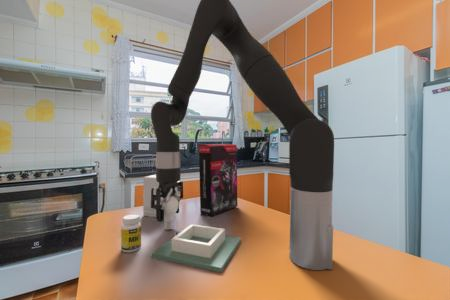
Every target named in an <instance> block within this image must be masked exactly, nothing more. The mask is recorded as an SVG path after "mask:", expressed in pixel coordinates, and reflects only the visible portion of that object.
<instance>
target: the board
mask: <svg viewBox="0 0 450 300" xmlns="http://www.w3.org/2000/svg"><path fill="white" fill-rule="evenodd" d="M175 233H176V234H175V236H173V237H172V238H171V239H169V240H168V241H167V242H165V243H164V244H163V245H161V246H159V248H157V249H156V250H154V251H153V252H151V258H153V259H157V260H162V261H167V262H171V263H176V264H180V265H184V266H189V267H195V268H199V269H204V270H209V271H212V272H217V273H222V272H223V270H224V269H225V267H226V266H227V264H228V263H229V261H230V259H231V258H232V256H233V255H234V253H235V251H236V250H237V248H238V247H239V245H240V244H241V242H242V237H239V236H233V235H227V234H226V228H222V227H215V226H208V225H200V224H194V223H191V224H190V225H188V226H187V227H186V228H180V229H178V230H177V231H176V232H175Z"/></svg>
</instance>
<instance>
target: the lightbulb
mask: <svg viewBox="0 0 450 300" xmlns="http://www.w3.org/2000/svg"><path fill="white" fill-rule="evenodd" d="M162 199H163V198H162ZM161 204H162V202H160V205H161ZM178 207H179V208H180V202H179V203H178V200H177V199H176V198H175V197H174V196H171V197H170V198H169V199H168V202H167V203H166V204H165V206H164V221H163V223H164V224H163V225H164V226H163V228H164V230H168V231H170V230H172V229H173V227H174V219H175V214H177V213H176V211H177V210H178Z"/></svg>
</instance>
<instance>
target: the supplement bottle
mask: <svg viewBox="0 0 450 300" xmlns="http://www.w3.org/2000/svg"><path fill="white" fill-rule="evenodd" d="M140 220H141V219H140V215H139V214H127V215H125V216H123V217H122V224H121V228H120V229H121V230H120V232H121V235H120V236H121V241H120V243H121V244H120V248H121V251H122V252H124V253H134V252H136V251H138V250H139V249H140V248H141V247H142V224H141V222H140Z"/></svg>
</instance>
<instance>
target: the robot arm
mask: <svg viewBox="0 0 450 300" xmlns="http://www.w3.org/2000/svg"><path fill="white" fill-rule="evenodd" d="M211 36H214V37H215V38H216V39H217V40H218V41H219V42H220V43H221V44H222V45H223V46H224V47H225V49H227V50H228V52H229V53H230V54H231V56H232V58H233V60H234V62H235V66H236V68H237V71H238V72H239V74H240V76H241V77H242V79H243V81H244V82H245V83H246V85H247V86H248V88H249V89H250V90H251V91H252V93H253V94H254V95H255V97H257V98H258V100H259V101H260V102H261V103H262V104H263V105H264V106H265V107H266V108H267V109H268V110H269V111H270V112H271V113H272V114H273V115H274V116H276V118H277V119H278V120H279V122H280V123H281V124H282V126H283V127H284V129H285V130H286V132H287V134H288V136H289V141H288V142H289V145H288V146H289V147H288V149H289V151H288V153H289V155H288V157H289V160H288V161H289V163H288V167H289V168H288V171H289V179H290V187H289V188H290V190H289V191H290V193H289V195H290V198H289V199H290V201H289V203H290V204H289V207H290V208H289V247H288V249H289V253H288V254H289V256H288V257H289V258H290V260H291V262H292V263H294V264H295V265H297V266H298V267H300V268H303V269H306V270H311V271H325V270H333V259H334V258H333V256H334V255H333V254H334V253H333V252H334V248H333V247H334V226H333V223H332V222H333V186H334V185H333V181H334V166H335V163H334V161H335V135H334V132H333V130H332V128H331V127H330V126H329V125H328V124H327V123H326V122H325V121H324V120H320V119H319V118H318V117H317V116H316V115H315V114H314V112H312V110H311V109H309V107H308V106H307V105H306V104H305V103H304V100H302V99H301V97H300V95H299V93H298V91H297V89H296V88H295V87H294V85H293V82H292V81H291V80H290V78H289V76H288V75H287V73H286V71H285V70H284V68H283V67H282V66H281V65H280V63H279V62H278V61H277V60H276V58H275V57H274V56H273V54H272V53H271V52H270V51H269V50H268V49H267V48H266V47H265V46H264V45H263V44H262V43H261V42H260V41H259V40H257V39H255V37H254V36H253V35H252V34H251V33H250V32H249V30H248V29H247V26H245V24H244V22H243V20H242V19H241V17H240V15H239V13H238V10H237V9H236V8H235V6H234V5H233V4H232V2H231V1H230V0H200V2H199V3H198V5H197V8H196V11H195V15H194V17H193V21H192V24H191V27H190V31H189V34H188V37H187V41H186V44H185V47H184V49H183V54H182V56H181V59H180V61H179V63H178V66H177V68H176V70H175V72H174V74H173V76H172V78H171V80H170V82H169V85H168V87H167V91H168V93H169V94H170V95H171V96H172V99H171V102H168V101H163V100H159V101H156V102H155V103H154V104H153V105H152V108H151V111H150V119H151V124H152V127H153V130H154V132H153V133H154V134H155V138H156V156H155V174H156V181H157V182H159V187H158V188H152V189H151V208H153V209H156V217H155V219H156V221H157V222H159V223H162V222H164V206H165V204H166V203H167V202H168V199H169V198H170V197H171V196H174V197H175V198H176V199H177V200H178V203H179V204H180V201H181V199H183V198H184V181H182V180H181V153H180V151H181V150H180V149H181V148H180V143H181V142H180V136H179V134H177V133H176V132H174V131H173V129H172V127H176V126H178V125H180V124H181V123H182V122H183V121H184V119H185V118H186V115H187V112H188V111H187V110H188V107H189V104H190V103H189V101H190V97H191V96H192V94H193V92H194V91H195V88H196V86H197V85H198V83H199V80H200V77H201V73H202V68H203V60H204V55H205V51H206V48H207V44H208V43H209V40H210V38H211ZM161 197H162V198H163V199H162V198H161ZM155 201H157V202H156V204H155ZM160 202H162V204H161V205H160ZM179 213H180V206H179V207H178V210H177V211H176V213H175V214H179Z"/></svg>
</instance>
